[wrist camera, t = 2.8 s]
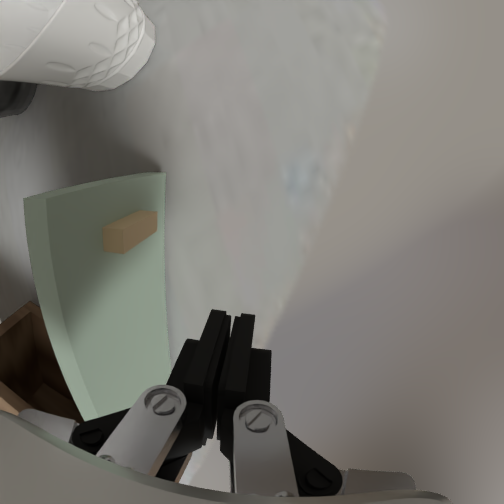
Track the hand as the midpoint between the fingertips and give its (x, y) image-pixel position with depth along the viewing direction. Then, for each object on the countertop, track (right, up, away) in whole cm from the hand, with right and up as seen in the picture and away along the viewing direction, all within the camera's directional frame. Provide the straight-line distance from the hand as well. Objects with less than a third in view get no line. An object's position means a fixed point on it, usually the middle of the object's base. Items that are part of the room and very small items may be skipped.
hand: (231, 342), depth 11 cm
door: (-5, +1, +8) cm, 10 cm away
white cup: (-9, +18, +4) cm, 20 cm away
